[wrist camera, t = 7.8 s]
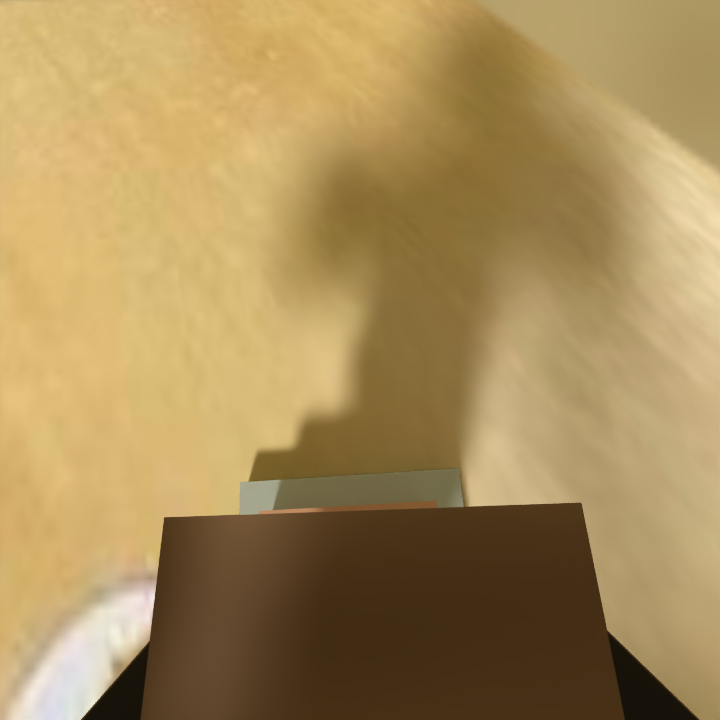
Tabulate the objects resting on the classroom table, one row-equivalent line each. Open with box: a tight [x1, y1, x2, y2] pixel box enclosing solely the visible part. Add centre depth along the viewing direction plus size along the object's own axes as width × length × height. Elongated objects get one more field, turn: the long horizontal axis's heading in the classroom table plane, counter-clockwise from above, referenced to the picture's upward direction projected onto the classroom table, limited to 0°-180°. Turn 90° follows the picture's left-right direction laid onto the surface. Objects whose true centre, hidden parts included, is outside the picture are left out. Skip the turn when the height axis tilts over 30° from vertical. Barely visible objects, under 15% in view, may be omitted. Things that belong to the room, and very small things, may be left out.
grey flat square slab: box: [239, 468, 464, 515], centre depth 20 cm, size 10×10×2 cm
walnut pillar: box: [141, 503, 625, 720], centre depth 10 cm, size 6×6×10 cm
